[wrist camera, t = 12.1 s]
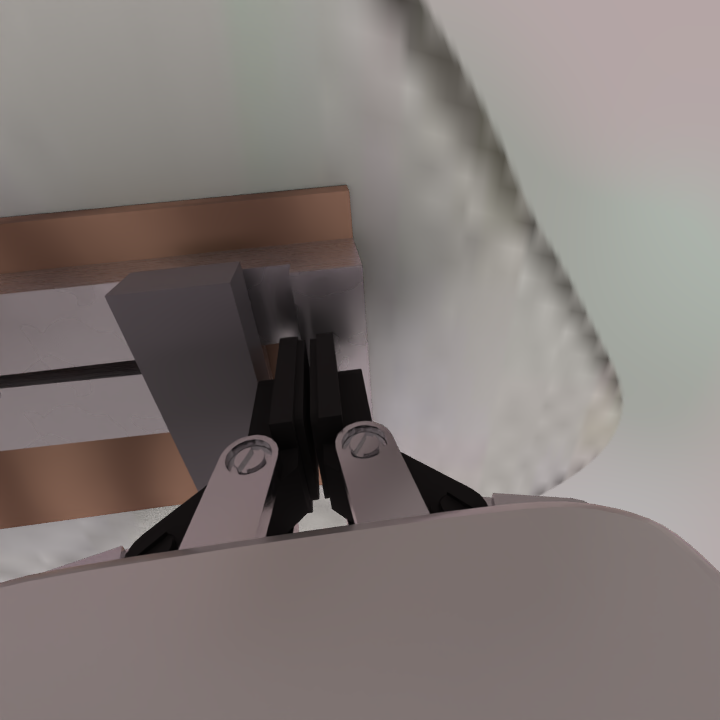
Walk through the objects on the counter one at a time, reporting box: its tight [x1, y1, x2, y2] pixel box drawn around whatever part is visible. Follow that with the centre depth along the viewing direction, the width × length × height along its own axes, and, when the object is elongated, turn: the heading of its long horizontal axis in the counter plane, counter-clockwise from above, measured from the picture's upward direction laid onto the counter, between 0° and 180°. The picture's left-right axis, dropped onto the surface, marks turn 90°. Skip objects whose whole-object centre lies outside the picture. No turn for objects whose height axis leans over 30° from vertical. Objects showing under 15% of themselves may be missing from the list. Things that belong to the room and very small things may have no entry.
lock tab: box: [105, 261, 270, 492], centre depth 12 cm, size 3×7×2 cm, turn 4°
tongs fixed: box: [0, 238, 373, 422], centre depth 14 cm, size 22×7×3 cm, turn 94°
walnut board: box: [0, 185, 353, 529], centre depth 17 cm, size 23×15×1 cm, turn 94°
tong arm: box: [0, 345, 273, 451], centre depth 15 cm, size 19×3×2 cm, turn 93°
